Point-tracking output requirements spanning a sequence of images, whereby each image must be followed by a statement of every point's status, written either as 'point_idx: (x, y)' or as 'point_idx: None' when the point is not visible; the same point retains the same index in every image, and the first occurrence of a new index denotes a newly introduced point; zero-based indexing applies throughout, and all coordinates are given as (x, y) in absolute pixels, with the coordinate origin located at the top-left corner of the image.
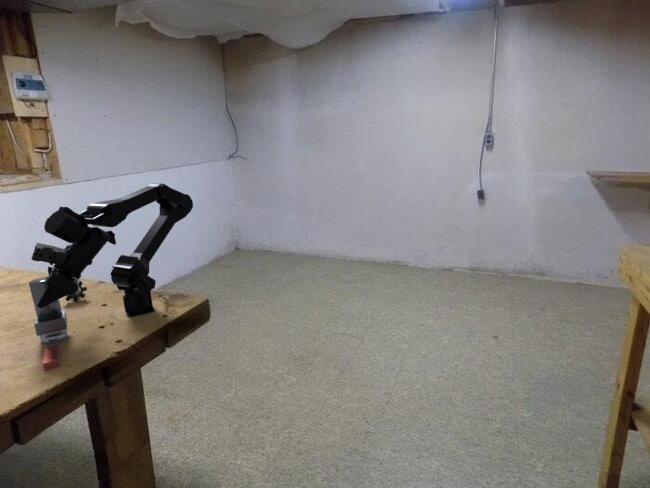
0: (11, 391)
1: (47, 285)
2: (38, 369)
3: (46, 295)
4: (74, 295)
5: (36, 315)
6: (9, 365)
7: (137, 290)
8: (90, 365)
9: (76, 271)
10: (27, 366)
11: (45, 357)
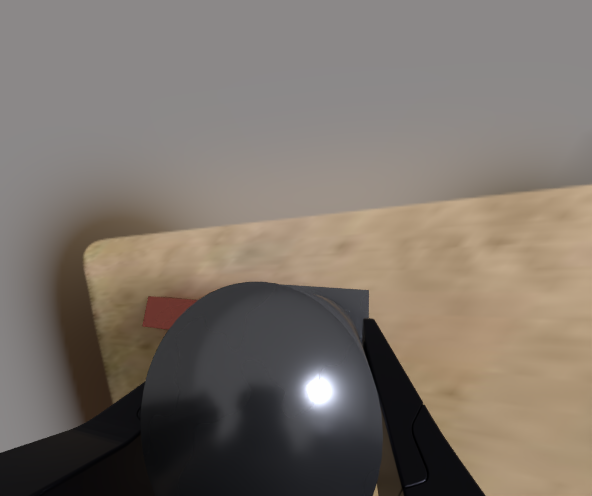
0: (129, 244)
1: (49, 438)
2: (175, 285)
3: None
4: None
5: (359, 291)
6: (234, 231)
7: None
8: (115, 386)
9: None
10: (204, 265)
11: (174, 302)
